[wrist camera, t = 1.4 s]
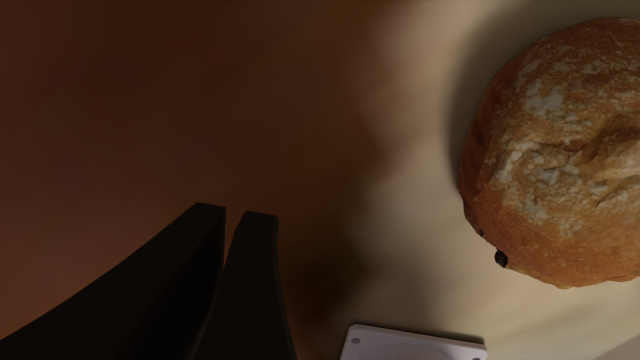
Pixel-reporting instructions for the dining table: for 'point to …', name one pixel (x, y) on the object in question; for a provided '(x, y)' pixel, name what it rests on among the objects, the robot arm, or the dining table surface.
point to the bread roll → (561, 157)
